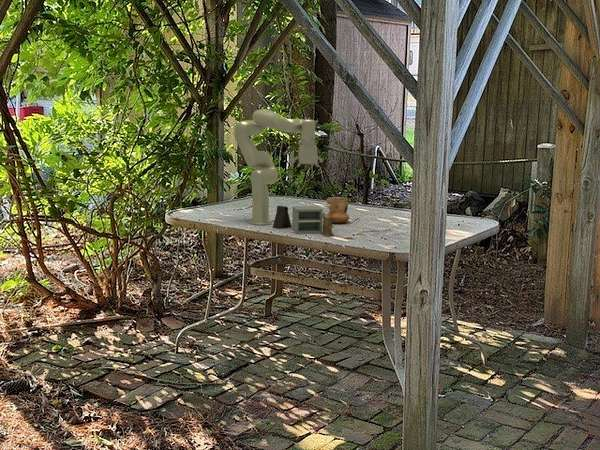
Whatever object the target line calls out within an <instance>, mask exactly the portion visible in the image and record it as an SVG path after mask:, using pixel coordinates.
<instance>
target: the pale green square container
mask: <svg viewBox="0 0 600 450" xmlns="http://www.w3.org/2000/svg"><path fill="white" fill-rule="evenodd" d="M325 214H326V213H325V212H323V208H322V207H320V206H319V205H305V206H304V205H300V206H299V205H297V206H296V205H295V206H294V205H293V206H292V217H291V218H292V222H291V226H292V227H291V229H292V231H293V232H294V233H295V234H296V235H298V234H300V235H301V234H302V235H303V234H305V235H306V234H321V235H322V234H323V235H324V236H323V235H322V236H323V237H327V236H326V234H324V233H323V215H325ZM331 237H335V234H334V233H333V232H332V236H331Z"/></svg>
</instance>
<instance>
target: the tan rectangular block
mask: <svg viewBox="0 0 600 450" xmlns="http://www.w3.org/2000/svg"><path fill="white" fill-rule="evenodd" d="M333 228H334V225H333V223H332V217H331V216H329V215H323V218H322V232H323V233H324V234H326V236H325V237H333V236H332V233H333Z"/></svg>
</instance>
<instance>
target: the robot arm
mask: <svg viewBox="0 0 600 450" xmlns="http://www.w3.org/2000/svg"><path fill="white" fill-rule="evenodd" d="M251 116H252V117H251V118H252V120H248V119H247V120H246V119H245V120H241V121H238V122H237V123H236V124H235V126H234V129H233V135H234V139H235V142H236V143H237V145H238V147H239V149H240V151H241V153H242V156H243V158H244V160H245V163H246V165H247V166H248V167H249V168H251V169H253V170H252V172H251V173H250V182H251V193H252V195H251V199H252V201H251V202H252V204H251V207H252V209H251V215H252V216H251V220H250V221H249V224H250V225H253V226H267V225H272V220H270V218H269V217H270V191H269V188H268V186H267V185H272V184H275V183H277V181H278V178H279V174H278V171H277V168H276V166H275V164H274V162H273V159H272V156H271V155H270V154H269V153H268V152H267V151H264V150H258V149H257V146H256V145H255V142H254V141H253V140H252V139H251V138H250V136H258V135H261V134H262V133H263V132H264V131H266V130H267V129H269V128H271V129H274V130H276V131H279V132H284V133H285V134H298V133H299V134H300V140H298V144H300V145H299V148H298V155H297V156H295V157H293V158H292V159H291V161H292V163H293V165H294V166H295V167H296V174H297V175H299V176H300V175H301V167H300V166H301V165H314V175H316V176H317V175H318V174H319V167H320V166H321V165H322V164H323V162H324V158H322V157H320V156H318V148H317V145H316V120H314V119H303V118H285V117H282V116H281V114H280V113H278V112H274V111H273V110H271V109H264V108H263V109H261V108H260V109H256V110H255V111H254V112H253V114H252V115H251ZM296 160H297V162H296ZM318 161H319V162H318Z"/></svg>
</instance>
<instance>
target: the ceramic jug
mask: <svg viewBox="0 0 600 450" xmlns="http://www.w3.org/2000/svg"><path fill="white" fill-rule="evenodd" d="M348 200H349V199H348V198H347V197H341V196H340V197H336V196H335V197H331V196H330V197H327V198H326V204H327V205H326V208H328V210H329V211H328V212H327V213H325V215H329V216H331V217H332V224H338V225H339V224H343V223H346V222H348V221H349V220H350V215H349V214H348V209H349V205H348V202H349V201H348Z"/></svg>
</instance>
